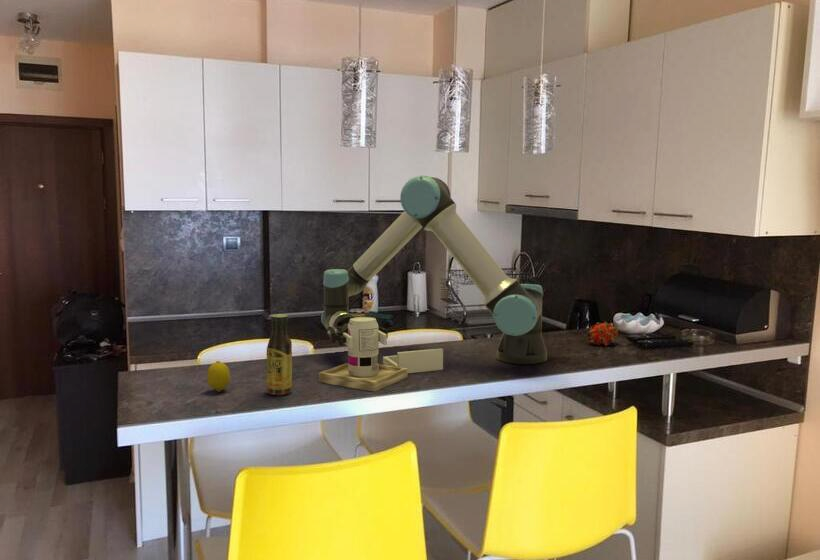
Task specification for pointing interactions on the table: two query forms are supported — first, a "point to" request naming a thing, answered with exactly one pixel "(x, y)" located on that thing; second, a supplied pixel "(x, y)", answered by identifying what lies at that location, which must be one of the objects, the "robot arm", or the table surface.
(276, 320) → the sauce bottle
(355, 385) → the tray
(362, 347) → the supplement can
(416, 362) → the dock
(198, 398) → the table surface
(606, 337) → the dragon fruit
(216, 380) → the lemon
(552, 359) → the table surface
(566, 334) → the table surface
